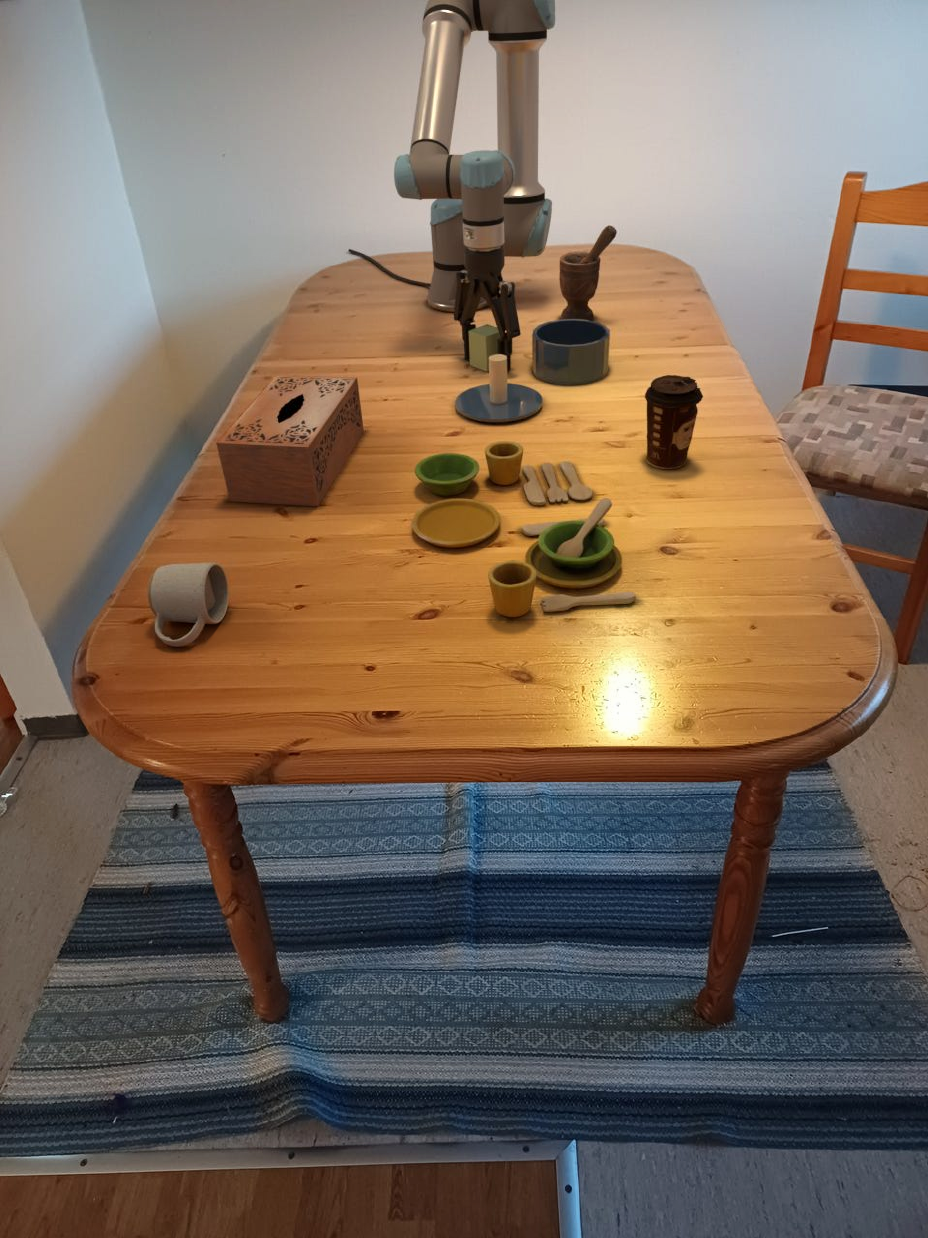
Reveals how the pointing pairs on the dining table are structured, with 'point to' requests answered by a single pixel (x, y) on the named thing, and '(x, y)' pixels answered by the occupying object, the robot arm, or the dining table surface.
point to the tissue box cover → (292, 440)
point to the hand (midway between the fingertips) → (487, 363)
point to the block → (483, 345)
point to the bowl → (570, 351)
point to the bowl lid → (498, 397)
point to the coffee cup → (670, 420)
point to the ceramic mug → (188, 597)
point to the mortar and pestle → (582, 277)
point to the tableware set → (561, 549)
